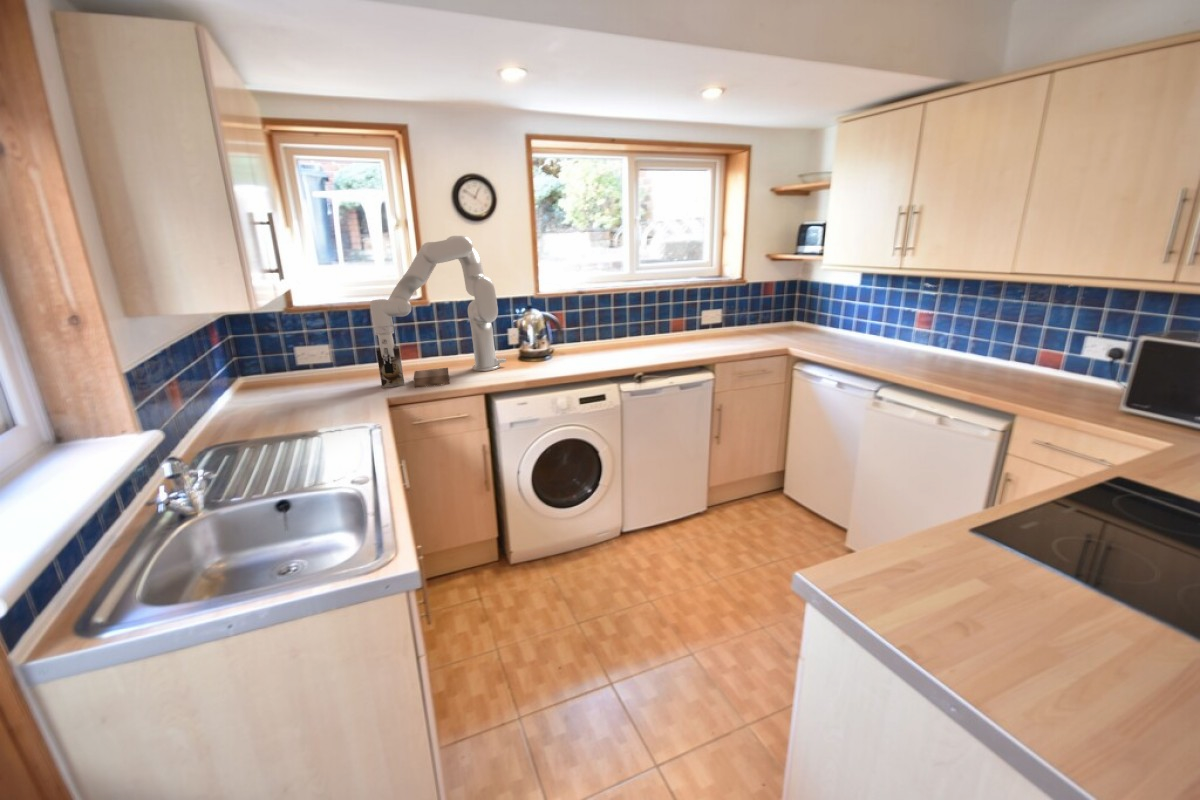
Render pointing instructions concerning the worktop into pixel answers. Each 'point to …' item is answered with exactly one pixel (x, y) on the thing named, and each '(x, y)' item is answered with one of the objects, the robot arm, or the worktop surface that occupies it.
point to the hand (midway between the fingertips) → (390, 370)
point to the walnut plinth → (431, 377)
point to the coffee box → (397, 375)
